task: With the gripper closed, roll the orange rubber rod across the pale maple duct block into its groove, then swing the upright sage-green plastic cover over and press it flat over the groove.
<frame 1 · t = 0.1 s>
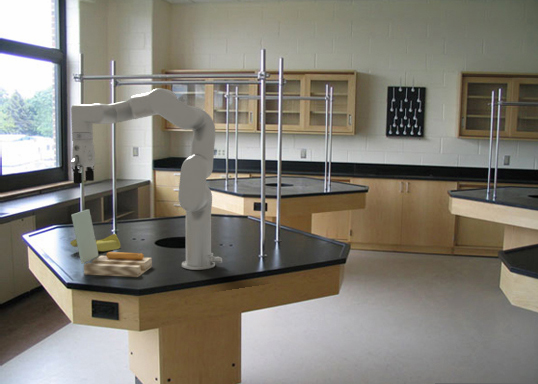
hand: (83, 181, 208), 31 cm above the lab bench, fingers open, 9 cm apart
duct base: (118, 270, 199), on the lab bench
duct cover: (85, 235, 199), point 12 cm above the lab bench, hinge at 100.0°
rod: (125, 259, 202), point 3 cm above the lab bench, touching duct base
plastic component: (94, 251, 231), on the lab bench
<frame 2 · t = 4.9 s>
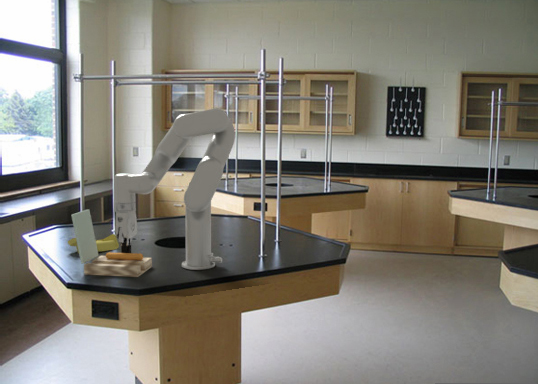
hand: (126, 255, 203), 5 cm above the lab bench, fingers closed
rod: (125, 258, 202), point 4 cm above the lab bench, tilted 24°, touching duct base, gripper
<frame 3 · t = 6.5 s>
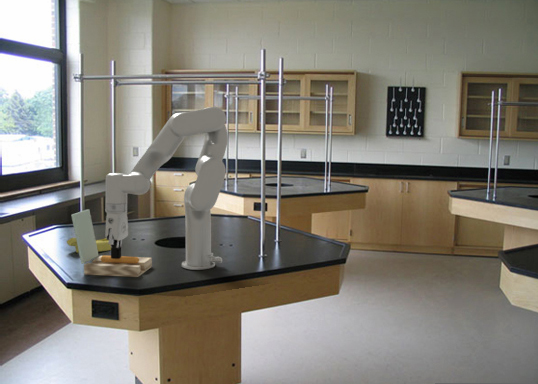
hand: (116, 257, 196), 5 cm above the lab bench, fingers closed
rod: (118, 257, 196), point 5 cm above the lab bench, tilted 130°, touching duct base, gripper
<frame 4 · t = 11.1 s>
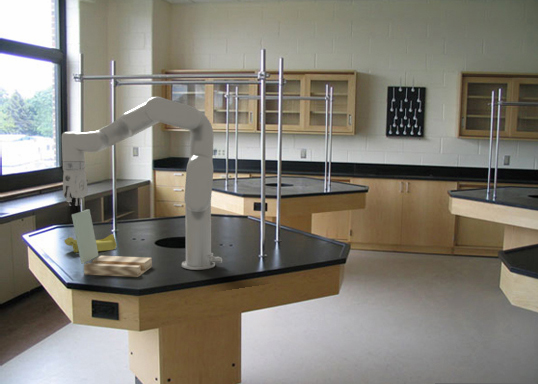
hand: (75, 216, 199), 20 cm above the lab bench, fingers closed
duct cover: (85, 235, 199), point 12 cm above the lab bench, hinge at 99.6°, touching gripper
rod: (118, 271, 195), point 1 cm above the lab bench, tilted 6°, touching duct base
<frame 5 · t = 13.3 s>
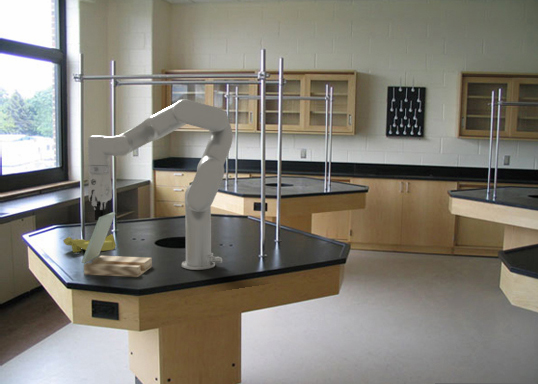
hand: (100, 220, 197), 19 cm above the lab bench, fingers closed
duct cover: (98, 237, 198), point 12 cm above the lab bench, hinge at 66.6°, touching gripper
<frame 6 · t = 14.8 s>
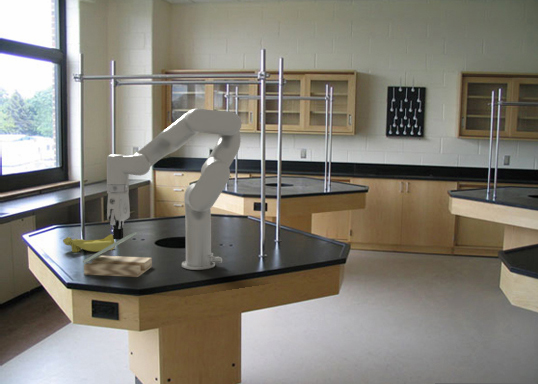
hand: (118, 238, 197), 12 cm above the lab bench, fingers closed
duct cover: (110, 247, 198), point 9 cm above the lab bench, hinge at 30.2°, touching gripper
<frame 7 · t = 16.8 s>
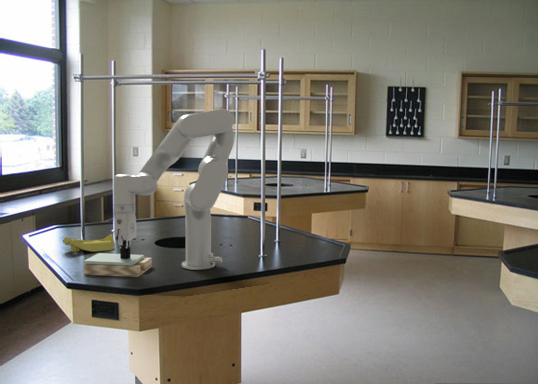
hand: (125, 258, 198), 5 cm above the lab bench, fingers closed
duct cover: (114, 259, 199), point 4 cm above the lab bench, hinge at 0.0°, touching gripper
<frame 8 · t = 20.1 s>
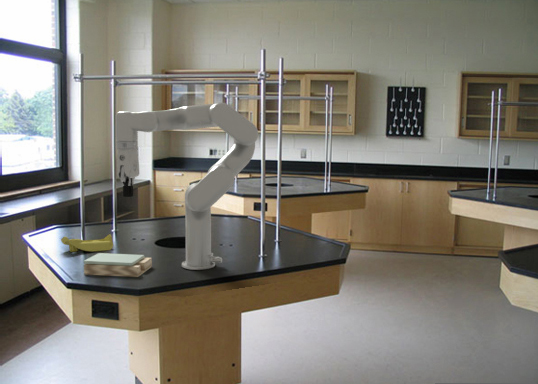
hand: (128, 196, 198), 27 cm above the lab bench, fingers closed
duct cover: (114, 259, 199), point 4 cm above the lab bench, hinge at -0.1°
at the end: rod inside the target area on the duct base (1.6 cm from its centre), point 0.5 cm above the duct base's base; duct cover at +0° (first picture: +100°) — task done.
